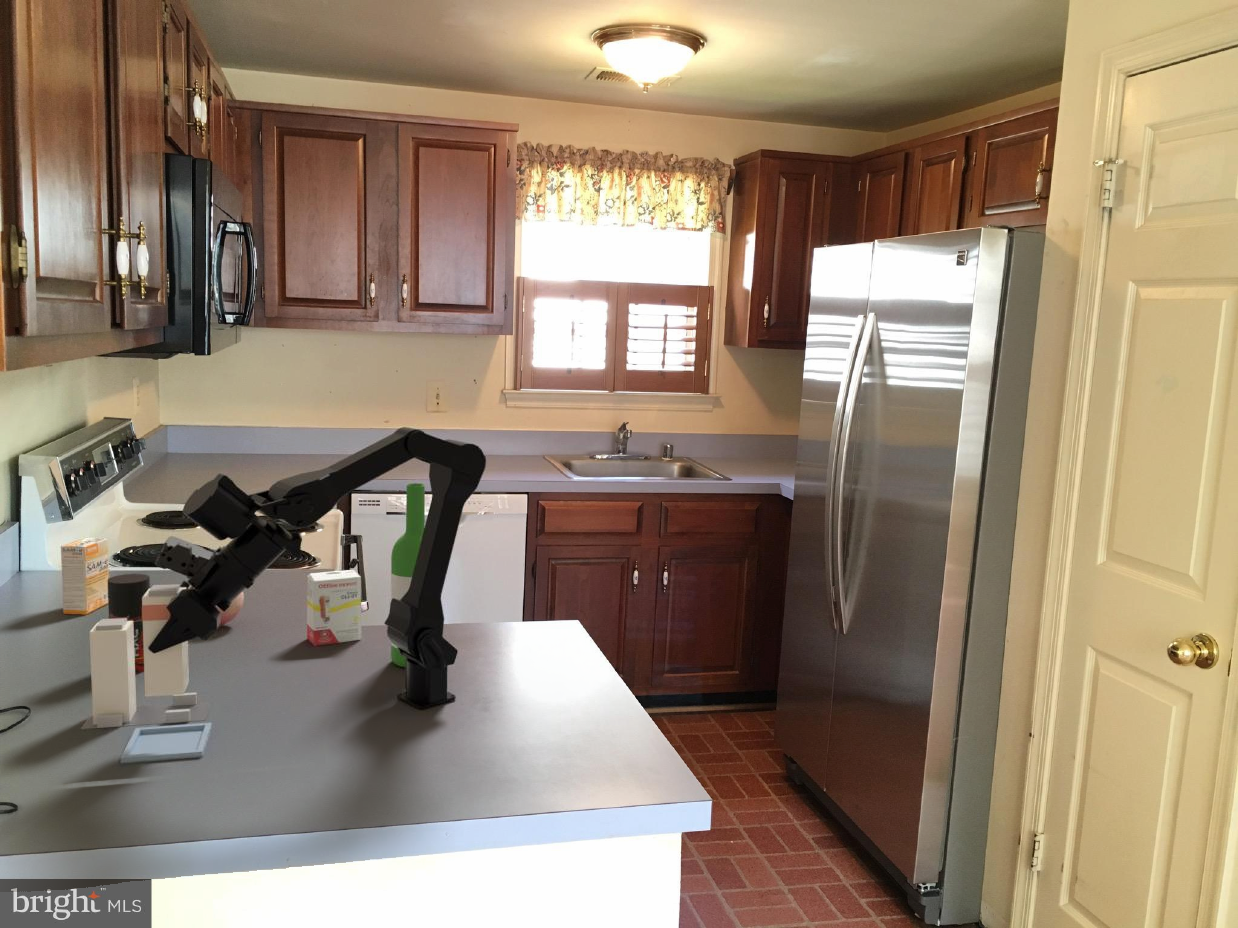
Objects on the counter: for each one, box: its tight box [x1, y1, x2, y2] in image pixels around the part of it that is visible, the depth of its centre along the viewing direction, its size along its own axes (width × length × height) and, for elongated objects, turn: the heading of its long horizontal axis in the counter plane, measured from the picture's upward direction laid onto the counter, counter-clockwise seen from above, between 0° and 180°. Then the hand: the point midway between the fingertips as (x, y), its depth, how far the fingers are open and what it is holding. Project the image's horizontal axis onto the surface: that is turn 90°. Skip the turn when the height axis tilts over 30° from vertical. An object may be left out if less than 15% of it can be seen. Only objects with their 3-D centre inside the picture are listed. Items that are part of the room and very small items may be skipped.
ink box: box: [306, 569, 362, 647], centre depth 172 cm, size 9×5×12 cm, turn 120°
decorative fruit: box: [215, 591, 245, 628], centre depth 177 cm, size 9×8×10 cm
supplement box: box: [60, 537, 110, 615], centre depth 185 cm, size 8×5×13 cm, turn 179°
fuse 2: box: [142, 583, 190, 698], centre depth 126 cm, size 5×5×14 cm
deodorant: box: [107, 573, 151, 675], centre depth 153 cm, size 6×6×15 cm
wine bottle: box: [390, 482, 426, 668], centre depth 161 cm, size 8×8×30 cm
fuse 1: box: [89, 618, 137, 725], centre depth 134 cm, size 4×4×14 cm
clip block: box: [80, 692, 212, 730], centre depth 136 cm, size 16×7×2 cm, turn 106°
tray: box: [120, 722, 213, 765], centre depth 127 cm, size 9×9×1 cm
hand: (154, 644), depth 126 cm, fingers closed on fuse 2, 4 cm apart
